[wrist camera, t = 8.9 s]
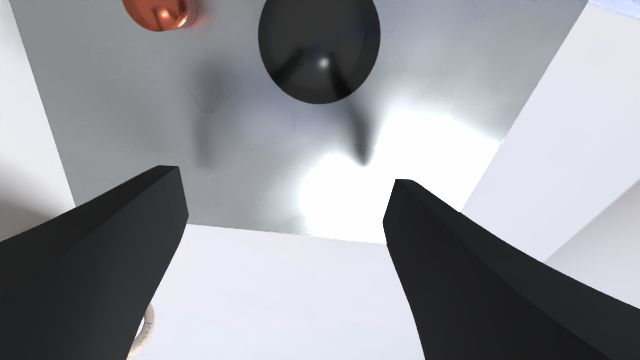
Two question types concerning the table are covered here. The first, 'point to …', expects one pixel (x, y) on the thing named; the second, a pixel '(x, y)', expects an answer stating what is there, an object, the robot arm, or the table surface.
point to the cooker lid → (288, 99)
